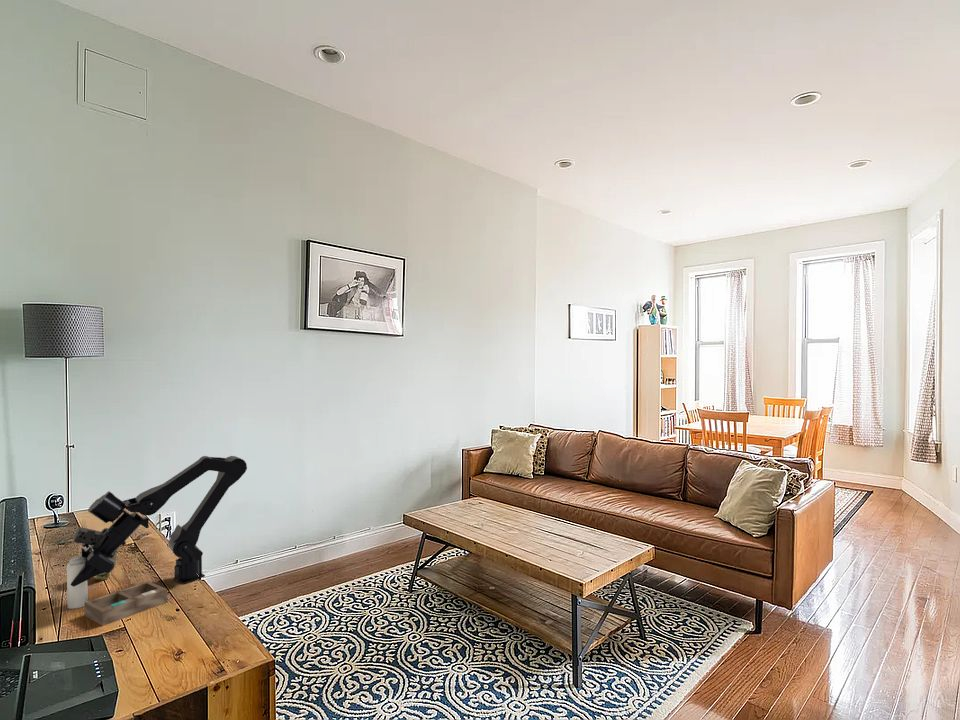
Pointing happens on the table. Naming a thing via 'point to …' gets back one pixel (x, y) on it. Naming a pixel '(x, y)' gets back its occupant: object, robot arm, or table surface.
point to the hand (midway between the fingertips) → (71, 582)
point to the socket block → (125, 603)
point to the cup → (105, 575)
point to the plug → (80, 591)
